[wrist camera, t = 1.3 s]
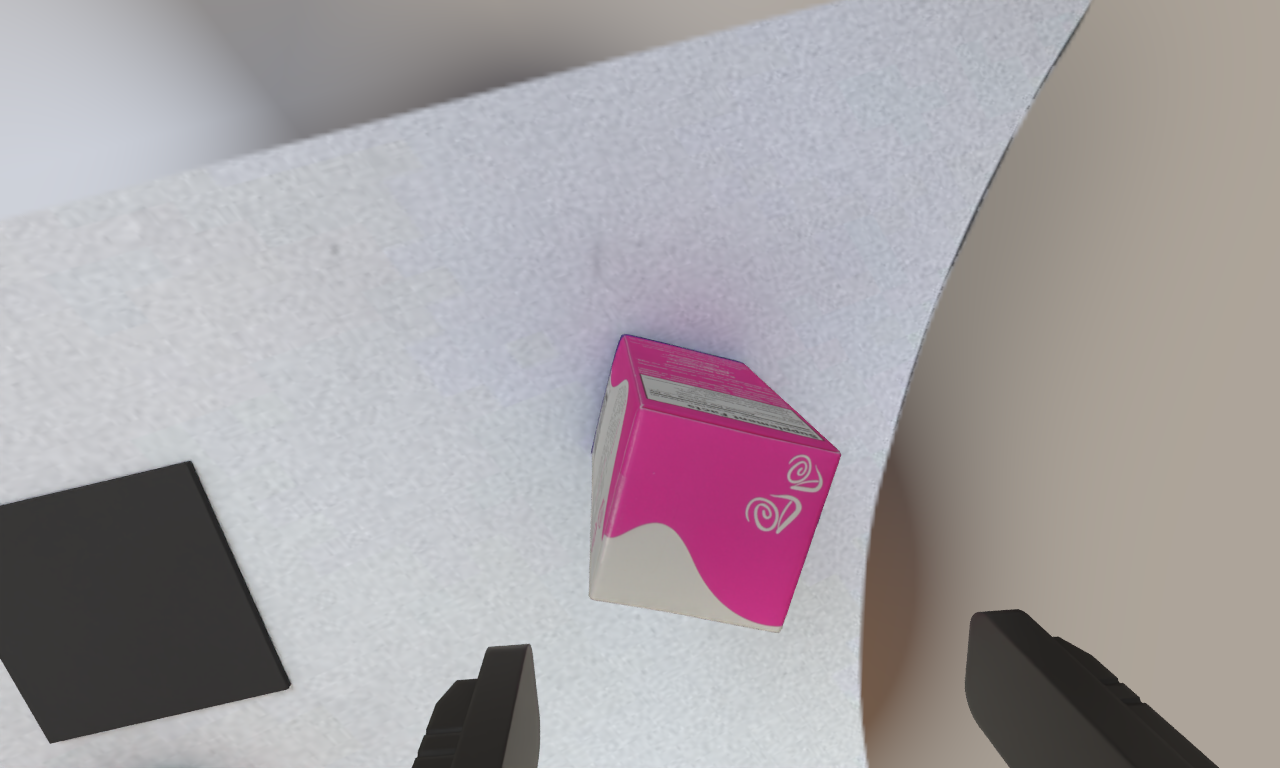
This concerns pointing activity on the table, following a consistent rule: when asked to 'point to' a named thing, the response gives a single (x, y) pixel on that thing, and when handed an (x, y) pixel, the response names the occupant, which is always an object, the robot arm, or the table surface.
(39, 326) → the table surface
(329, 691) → the table surface
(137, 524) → the felt pad
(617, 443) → the supplement box
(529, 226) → the table surface
